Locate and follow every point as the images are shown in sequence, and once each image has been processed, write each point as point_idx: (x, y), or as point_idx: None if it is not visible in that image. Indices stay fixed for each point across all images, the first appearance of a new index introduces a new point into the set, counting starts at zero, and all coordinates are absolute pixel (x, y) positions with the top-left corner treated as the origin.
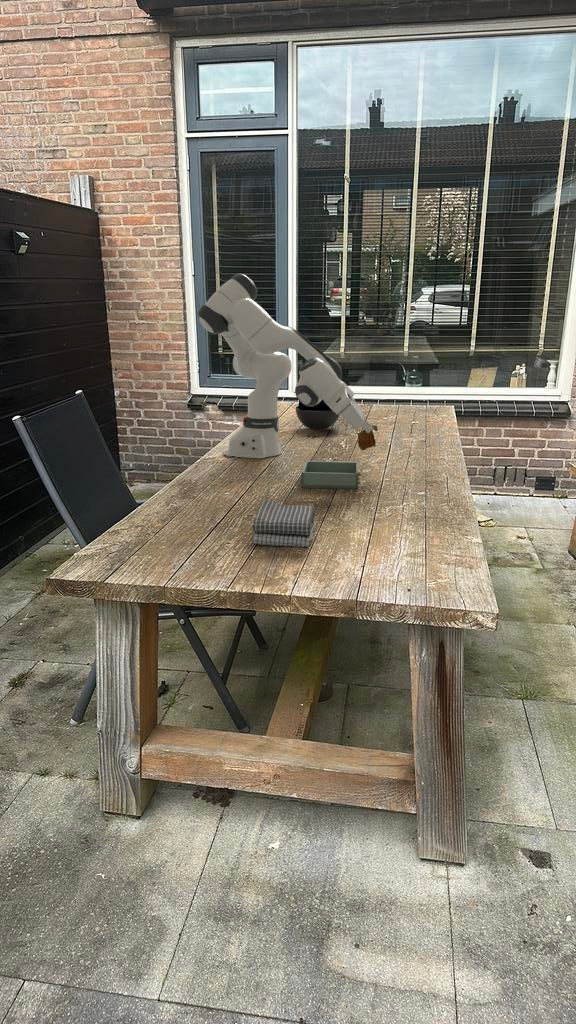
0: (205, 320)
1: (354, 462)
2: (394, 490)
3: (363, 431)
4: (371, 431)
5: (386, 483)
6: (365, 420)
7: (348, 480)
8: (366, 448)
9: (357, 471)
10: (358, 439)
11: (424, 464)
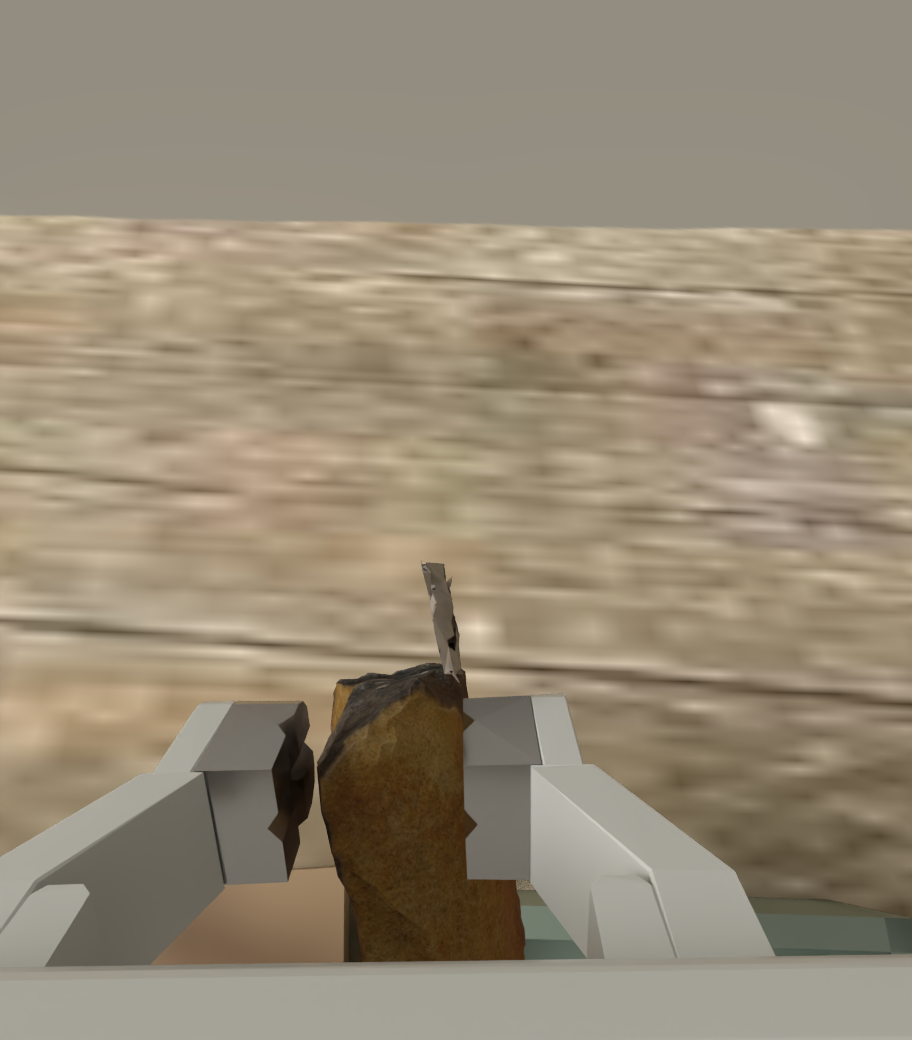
0: None
1: None
2: (775, 585)
3: (424, 888)
4: (444, 700)
5: (593, 638)
6: (117, 844)
7: None
8: None
9: (807, 928)
10: None
11: (83, 370)
